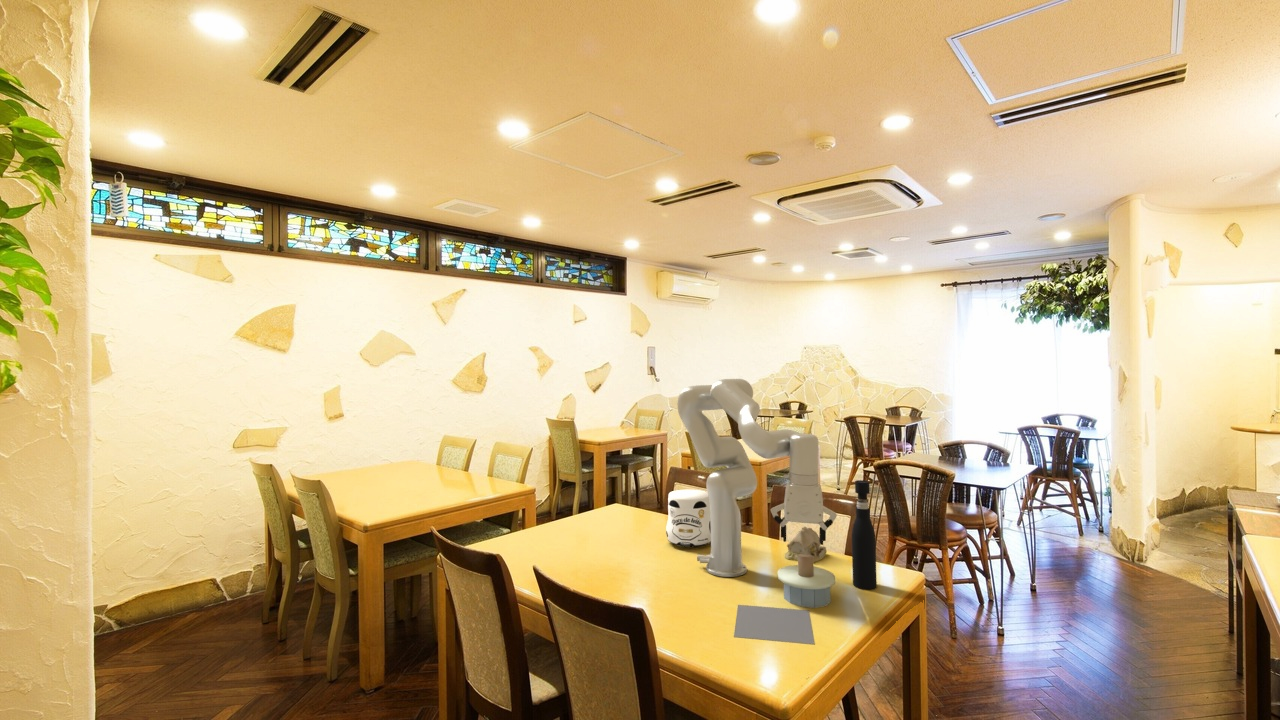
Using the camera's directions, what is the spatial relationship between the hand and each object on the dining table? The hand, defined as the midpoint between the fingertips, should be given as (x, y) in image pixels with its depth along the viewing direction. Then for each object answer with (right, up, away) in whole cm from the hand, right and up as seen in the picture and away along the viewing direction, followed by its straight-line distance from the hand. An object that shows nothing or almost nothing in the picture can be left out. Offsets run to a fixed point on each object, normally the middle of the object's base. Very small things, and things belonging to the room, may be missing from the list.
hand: (802, 541), depth 150 cm
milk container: (-26, -18, +50) cm, 59 cm away
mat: (-12, -16, -16) cm, 25 cm away
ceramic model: (+11, -17, +34) cm, 40 cm away
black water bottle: (+21, -16, +9) cm, 27 cm away
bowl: (+1, -16, -1) cm, 16 cm away
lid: (+1, -10, -1) cm, 10 cm away
